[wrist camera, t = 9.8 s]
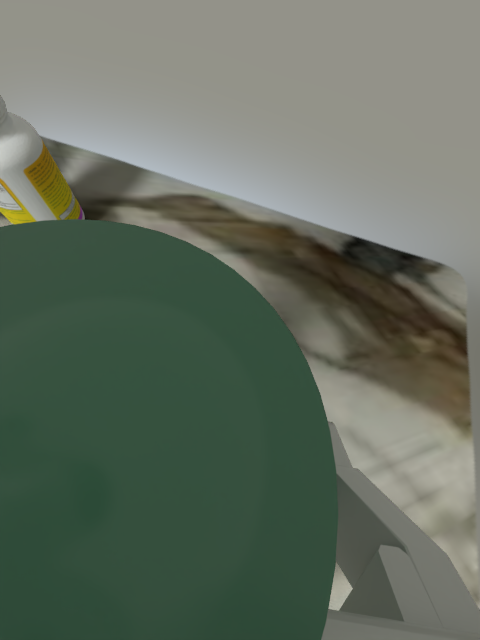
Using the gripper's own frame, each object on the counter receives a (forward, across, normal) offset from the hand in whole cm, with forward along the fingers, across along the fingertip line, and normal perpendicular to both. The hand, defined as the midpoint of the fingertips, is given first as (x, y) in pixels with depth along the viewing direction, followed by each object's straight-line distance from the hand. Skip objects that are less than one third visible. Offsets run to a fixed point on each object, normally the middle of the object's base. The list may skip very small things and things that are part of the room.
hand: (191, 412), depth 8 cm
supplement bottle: (+25, +21, -1) cm, 32 cm away
